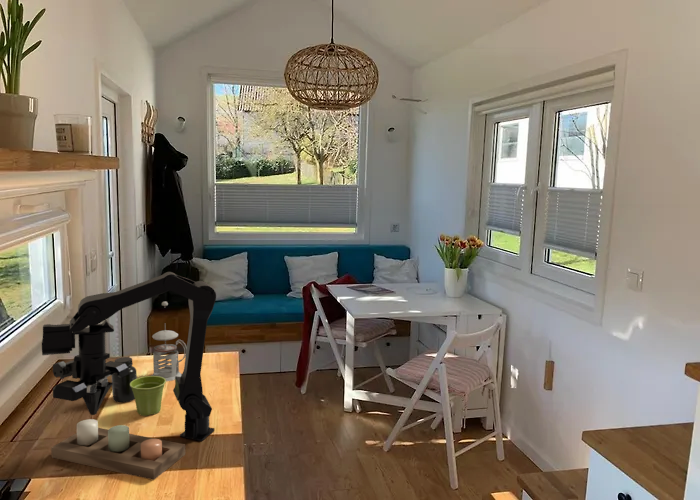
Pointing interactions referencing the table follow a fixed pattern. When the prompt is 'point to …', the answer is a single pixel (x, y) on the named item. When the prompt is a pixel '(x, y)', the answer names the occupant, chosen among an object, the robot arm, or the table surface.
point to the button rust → (151, 449)
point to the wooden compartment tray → (119, 455)
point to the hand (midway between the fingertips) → (93, 414)
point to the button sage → (118, 438)
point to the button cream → (87, 432)
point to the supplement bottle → (124, 382)
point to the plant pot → (148, 394)
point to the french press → (168, 370)
